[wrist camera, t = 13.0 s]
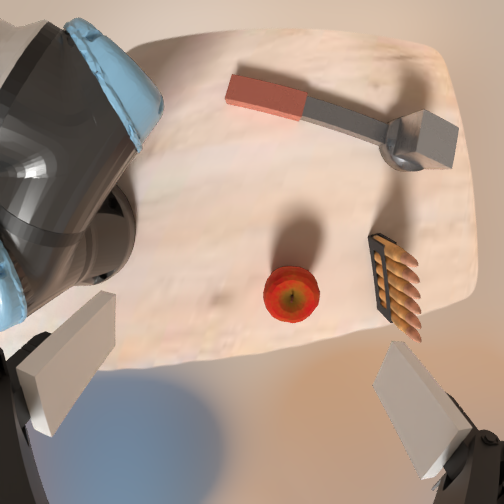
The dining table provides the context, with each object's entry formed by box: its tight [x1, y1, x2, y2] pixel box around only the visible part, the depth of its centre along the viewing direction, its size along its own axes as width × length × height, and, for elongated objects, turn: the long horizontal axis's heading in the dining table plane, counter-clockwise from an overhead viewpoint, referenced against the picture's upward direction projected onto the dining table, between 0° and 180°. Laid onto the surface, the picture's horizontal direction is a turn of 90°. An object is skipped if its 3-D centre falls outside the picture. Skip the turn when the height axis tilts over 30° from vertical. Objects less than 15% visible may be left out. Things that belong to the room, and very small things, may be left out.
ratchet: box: [225, 74, 424, 172], centre depth 32 cm, size 26×7×6 cm, turn 76°
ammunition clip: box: [368, 233, 421, 343], centre depth 34 cm, size 11×2×12 cm, turn 14°
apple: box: [263, 266, 320, 323], centre depth 36 cm, size 6×6×8 cm
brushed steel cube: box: [393, 109, 459, 169], centre depth 30 cm, size 5×5×6 cm
